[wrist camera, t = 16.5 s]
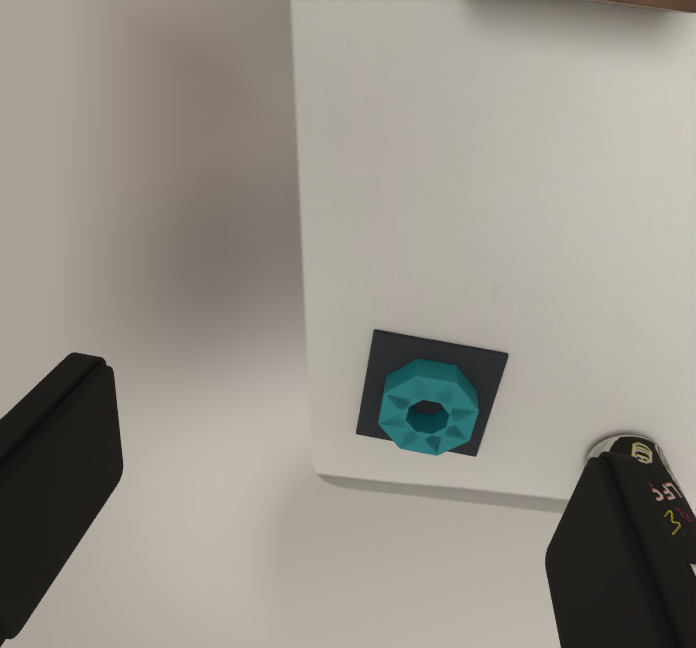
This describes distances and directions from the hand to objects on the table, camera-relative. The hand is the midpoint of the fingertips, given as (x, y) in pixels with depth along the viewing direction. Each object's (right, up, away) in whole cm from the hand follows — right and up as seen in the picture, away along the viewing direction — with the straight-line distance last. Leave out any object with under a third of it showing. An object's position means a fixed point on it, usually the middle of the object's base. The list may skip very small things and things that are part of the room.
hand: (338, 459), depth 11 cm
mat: (+6, -3, +33) cm, 34 cm away
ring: (+6, -3, +33) cm, 34 cm away
